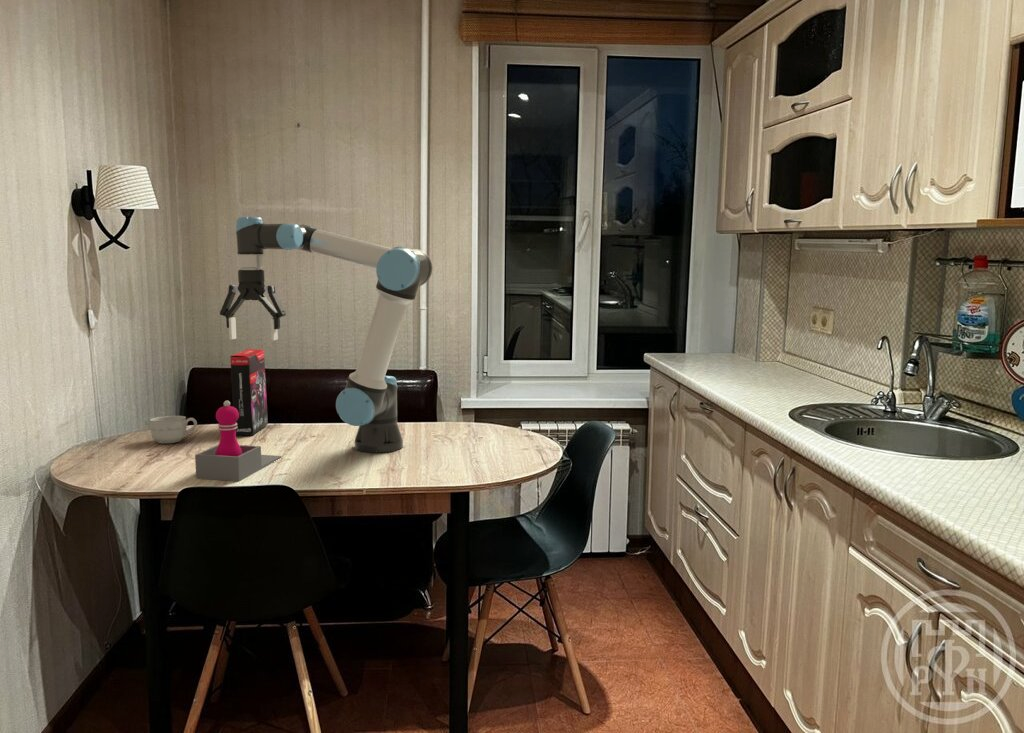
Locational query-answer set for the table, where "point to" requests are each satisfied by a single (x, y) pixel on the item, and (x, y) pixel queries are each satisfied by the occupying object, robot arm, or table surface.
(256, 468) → the box
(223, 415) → the pepper mill
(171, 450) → the table surface
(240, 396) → the graphics card box
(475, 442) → the table surface
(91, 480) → the table surface
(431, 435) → the table surface
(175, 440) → the teacup
